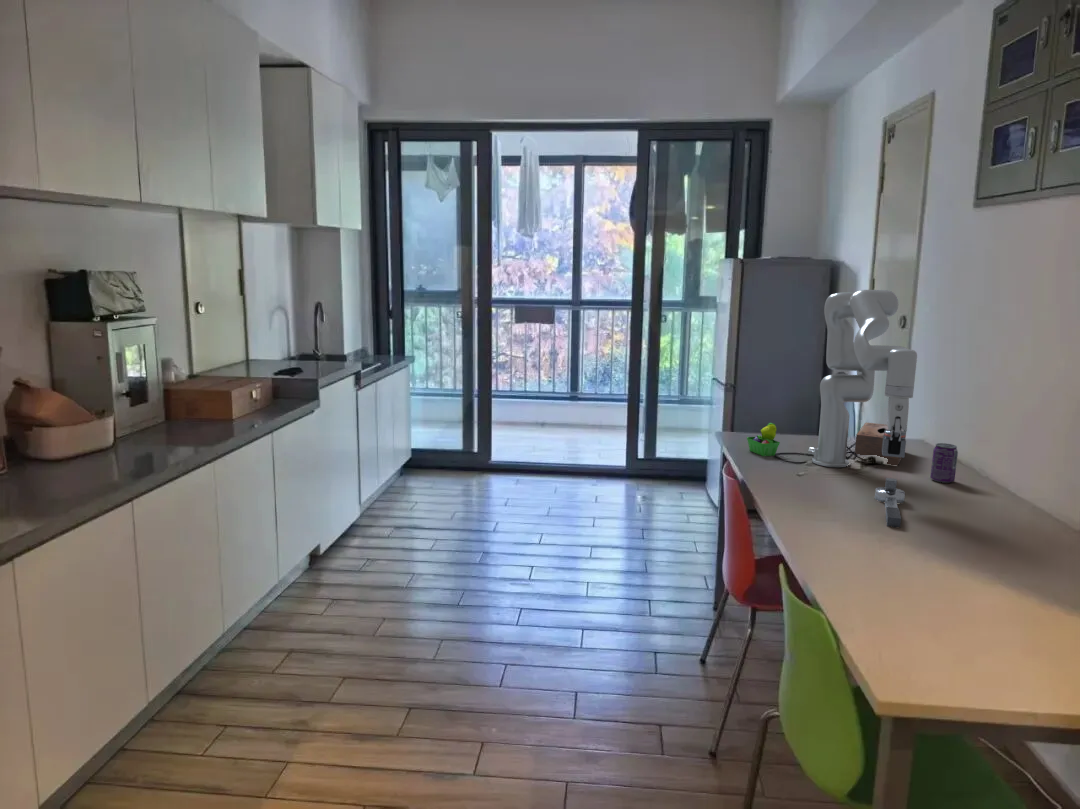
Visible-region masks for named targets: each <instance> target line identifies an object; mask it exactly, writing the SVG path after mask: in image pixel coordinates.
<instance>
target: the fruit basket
mask: <svg viewBox="0 0 1080 809" xmlns="http://www.w3.org/2000/svg"><path fill="white" fill-rule="evenodd" d="M760 433H761V435H758V434H757V435H756V436H747V437H746V441H747V443H748V448H749V449H748V450H749V452H751V453H754V454H757V455H760V456H761V457H772V456H773V457H774V456H776V453H777V450H778V448H779V446H780V444H781V442H780V441H777V440H775V438H776V436H777V426H776V424H775V423H773V422H768V424H767V425H766V426H764V427H762V429H760Z"/></svg>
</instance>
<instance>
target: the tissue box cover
mask: <svg viewBox="0 0 1080 809" xmlns="http://www.w3.org/2000/svg"><path fill="white" fill-rule="evenodd" d="M887 429H888V426H887V424H884V423H883V424H882V423H877V422H876V423H873V422H867V421H865V422H864V424H863V425H862V426H861V428H860V429H859V430H858V432H857V433H856V434H855V435H856V436H855V445H854V446H855V447H854V454H855V453H856V454H860V455H877V456H880V457H884V458H887V459H888V462H887V464H891V465H897V466H898V467H899V465H900V463H901V460H902V458H901V457H891V456H883V455H882V443H883V435H884V430H887ZM901 431H904V430H902V429H901ZM900 459H901V460H900ZM899 462H900V463H899ZM898 464H899V465H898Z"/></svg>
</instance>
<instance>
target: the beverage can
mask: <svg viewBox="0 0 1080 809" xmlns="http://www.w3.org/2000/svg"><path fill="white" fill-rule="evenodd" d="M958 455H959V451H958V446H957V445H954V444H952V443H945V442H944V443H943V442H940V443H935V446H934V448H933V452H932V459H931V469H930V479H932V480H933V481H934V482H937V483H941V482H942V483H943V484H949V483H952V482H954V481H955V480H956V473H957V472H956V471H957V464H958V462H957V461H958ZM942 483H941V484H942Z"/></svg>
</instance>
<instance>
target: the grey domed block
mask: <svg viewBox="0 0 1080 809" xmlns="http://www.w3.org/2000/svg"><path fill="white" fill-rule="evenodd" d="M890 435H891V431H890V430H889V429H887V430H884V435H883V443H882V455H883V456H891V457H902V458H903V459H904V458H905V455H906V446H907V440H906V437H907V431H906V432H904V431H901V448H900V454H899V455H895V454H888V445H889V440H890ZM902 458H901V459H902Z"/></svg>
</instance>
